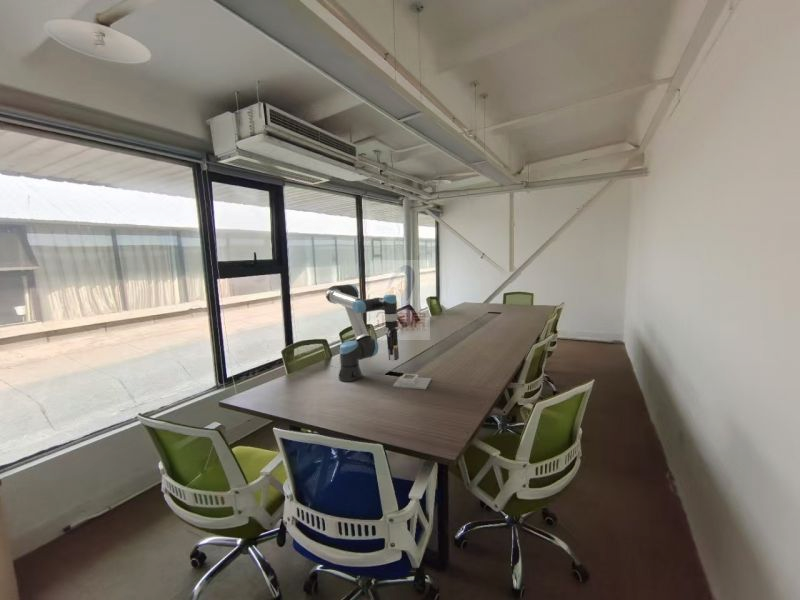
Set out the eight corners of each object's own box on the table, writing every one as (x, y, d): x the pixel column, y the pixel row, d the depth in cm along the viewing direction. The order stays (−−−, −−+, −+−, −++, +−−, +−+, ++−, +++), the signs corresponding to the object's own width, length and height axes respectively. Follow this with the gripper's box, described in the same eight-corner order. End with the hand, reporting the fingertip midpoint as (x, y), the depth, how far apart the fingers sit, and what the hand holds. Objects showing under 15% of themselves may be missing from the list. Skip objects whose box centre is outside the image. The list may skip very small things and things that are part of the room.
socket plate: (392, 386, 199) (392, 380, 198) (400, 377, 214) (400, 371, 213) (425, 389, 193) (425, 382, 192) (431, 379, 208) (431, 373, 208)
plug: (388, 360, 202) (388, 347, 201) (391, 358, 205) (390, 345, 205) (396, 360, 200) (395, 347, 199) (398, 358, 204) (398, 345, 203)
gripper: (392, 322, 191) (394, 362, 193) (401, 318, 207) (403, 355, 209) (380, 323, 194) (382, 362, 196) (390, 318, 210) (392, 354, 212)
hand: (393, 358), depth 203 cm, fingers closed on plug, 4 cm apart
